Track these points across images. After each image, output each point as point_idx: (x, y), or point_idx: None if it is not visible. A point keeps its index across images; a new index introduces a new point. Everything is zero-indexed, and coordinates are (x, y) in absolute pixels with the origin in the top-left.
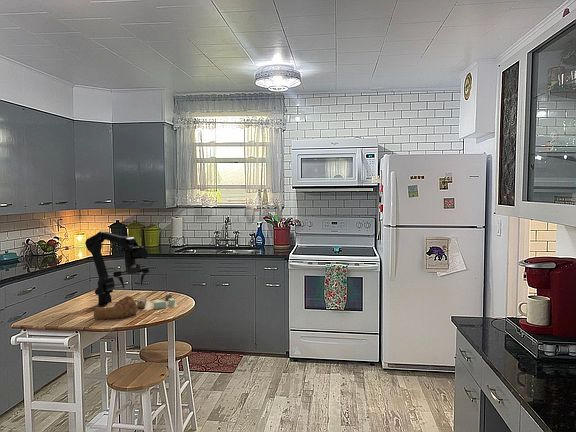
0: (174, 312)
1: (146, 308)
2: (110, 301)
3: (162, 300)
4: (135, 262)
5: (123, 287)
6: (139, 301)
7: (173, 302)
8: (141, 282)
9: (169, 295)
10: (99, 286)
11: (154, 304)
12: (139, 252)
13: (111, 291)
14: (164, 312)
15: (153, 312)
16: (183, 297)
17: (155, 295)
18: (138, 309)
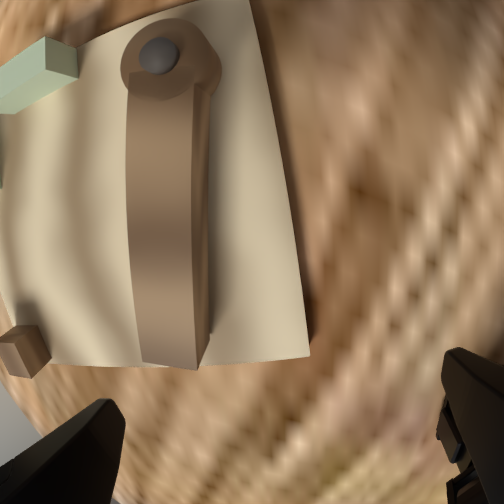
0: (3, 25)
1: None
2: (450, 413)
3: (59, 335)
4: None
5: (470, 353)
6: (174, 47)
7: None
8: (58, 435)
9: (3, 340)
10: None
11: (55, 47)
12: None
13: (455, 483)
14: (41, 19)
15: (99, 15)
16: (13, 390)
17: (166, 493)
18: (209, 38)
